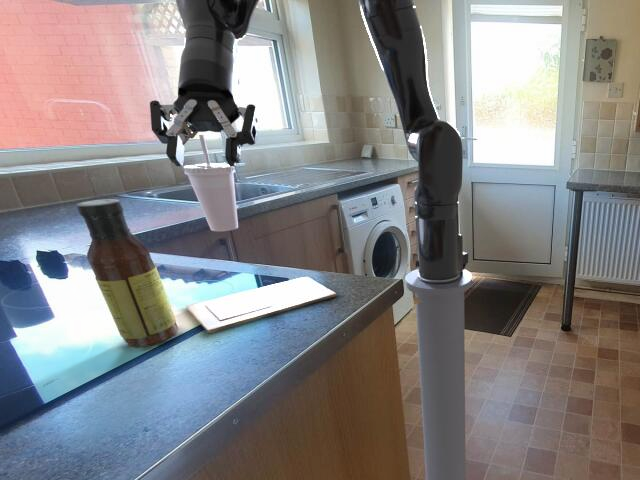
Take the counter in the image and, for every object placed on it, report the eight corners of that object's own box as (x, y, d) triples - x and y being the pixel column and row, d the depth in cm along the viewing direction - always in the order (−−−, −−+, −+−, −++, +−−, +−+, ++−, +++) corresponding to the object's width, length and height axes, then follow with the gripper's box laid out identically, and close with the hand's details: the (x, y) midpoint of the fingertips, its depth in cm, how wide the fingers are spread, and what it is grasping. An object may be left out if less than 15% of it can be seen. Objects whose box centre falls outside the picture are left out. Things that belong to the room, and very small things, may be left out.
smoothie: (246, 221, 69) (226, 134, 64) (249, 230, 64) (227, 136, 59) (200, 226, 66) (174, 133, 60) (199, 235, 61) (171, 136, 56)
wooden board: (307, 278, 82) (306, 275, 82) (337, 296, 75) (336, 292, 75) (186, 309, 68) (185, 305, 68) (208, 333, 61) (207, 329, 61)
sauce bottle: (179, 324, 63) (139, 195, 56) (179, 341, 59) (135, 203, 51) (123, 335, 60) (72, 199, 52) (118, 354, 55) (61, 208, 47)
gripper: (141, 53, 60) (128, 144, 54) (253, 60, 64) (252, 146, 59) (167, 94, 66) (158, 179, 61) (267, 98, 71) (267, 178, 65)
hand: (204, 162), depth 60 cm, fingers closed on smoothie, 6 cm apart
